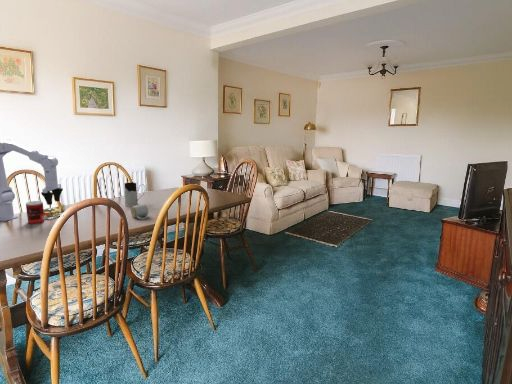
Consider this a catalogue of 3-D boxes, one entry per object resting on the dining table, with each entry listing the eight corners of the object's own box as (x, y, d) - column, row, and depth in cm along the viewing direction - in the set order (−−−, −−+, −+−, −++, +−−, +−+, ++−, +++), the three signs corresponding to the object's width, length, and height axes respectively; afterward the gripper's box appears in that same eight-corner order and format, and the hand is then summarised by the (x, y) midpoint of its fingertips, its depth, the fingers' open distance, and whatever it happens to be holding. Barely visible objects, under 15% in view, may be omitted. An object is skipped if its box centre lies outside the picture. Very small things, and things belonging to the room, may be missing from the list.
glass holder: (122, 204, 220) (121, 182, 217) (143, 201, 228) (143, 181, 225) (126, 207, 213) (125, 185, 210) (147, 204, 221) (147, 183, 218)
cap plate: (29, 217, 183) (28, 211, 182) (48, 211, 196) (48, 205, 196) (50, 220, 181) (49, 213, 180) (69, 213, 194) (68, 207, 193)
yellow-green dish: (37, 216, 182) (36, 207, 181) (42, 211, 191) (41, 203, 190) (63, 214, 186) (62, 206, 185) (66, 210, 195) (66, 202, 194)
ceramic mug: (130, 216, 193) (129, 204, 191) (143, 214, 198) (142, 202, 197) (137, 221, 185) (137, 208, 184) (151, 218, 191) (150, 206, 189)
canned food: (40, 219, 182) (38, 200, 179) (47, 221, 178) (45, 202, 175) (25, 222, 175) (22, 202, 173) (32, 225, 171) (30, 205, 169)
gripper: (51, 181, 168) (53, 206, 171) (65, 176, 183) (67, 199, 185) (37, 181, 168) (39, 205, 171) (52, 176, 182) (55, 199, 185)
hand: (53, 202), depth 178 cm, fingers open, 7 cm apart
